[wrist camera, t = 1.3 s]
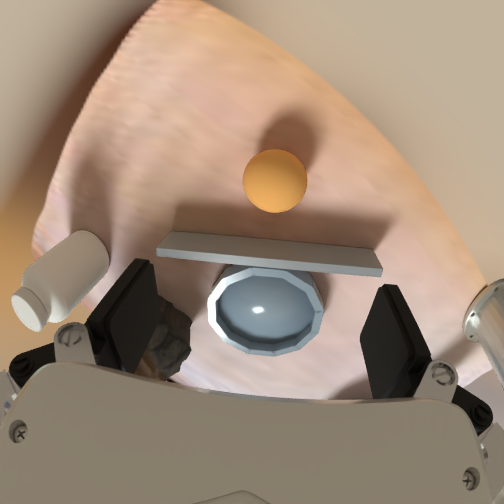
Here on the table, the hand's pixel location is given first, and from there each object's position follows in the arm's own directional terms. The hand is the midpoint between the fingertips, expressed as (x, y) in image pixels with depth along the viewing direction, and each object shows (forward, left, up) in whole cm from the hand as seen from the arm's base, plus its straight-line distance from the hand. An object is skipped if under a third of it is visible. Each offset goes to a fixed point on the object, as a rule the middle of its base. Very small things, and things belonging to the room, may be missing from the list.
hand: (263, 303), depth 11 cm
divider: (0, +7, -20) cm, 21 cm away
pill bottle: (+26, +11, -20) cm, 35 cm away
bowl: (0, +16, -20) cm, 26 cm away
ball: (0, -1, -17) cm, 17 cm away
